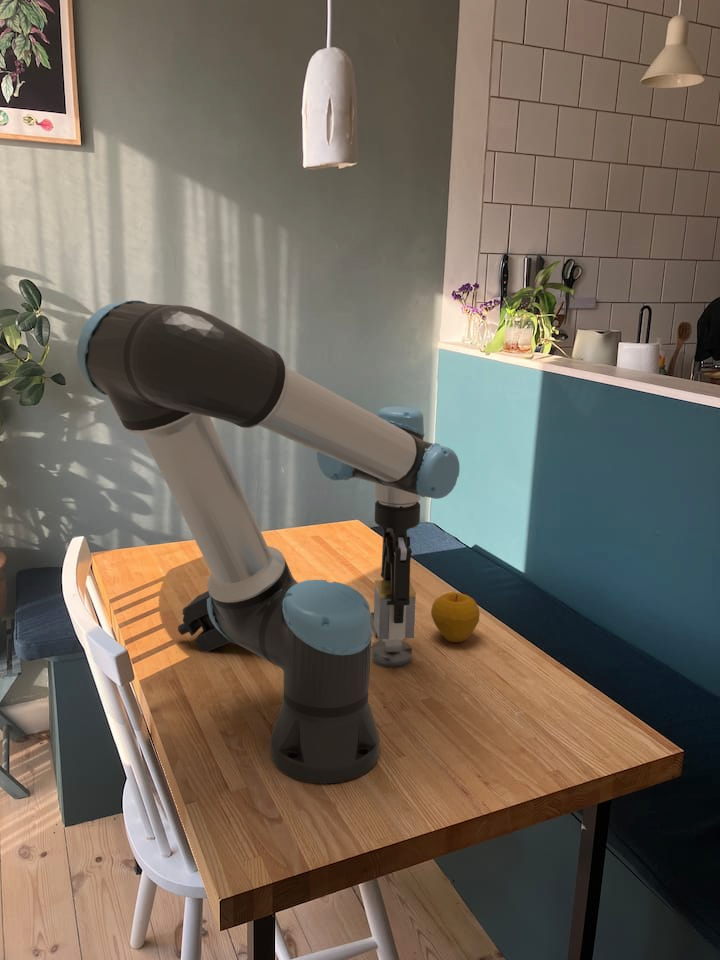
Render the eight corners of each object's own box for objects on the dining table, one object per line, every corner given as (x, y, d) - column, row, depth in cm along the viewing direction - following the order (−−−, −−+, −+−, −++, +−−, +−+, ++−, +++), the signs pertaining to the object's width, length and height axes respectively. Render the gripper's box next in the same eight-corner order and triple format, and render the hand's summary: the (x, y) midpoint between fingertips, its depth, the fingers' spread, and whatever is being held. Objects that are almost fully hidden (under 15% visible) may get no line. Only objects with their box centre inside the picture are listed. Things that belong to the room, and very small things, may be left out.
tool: (295, 648, 136) (252, 572, 135) (203, 687, 142) (161, 614, 140) (304, 633, 142) (264, 560, 140) (216, 671, 148) (176, 601, 146)
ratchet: (415, 667, 137) (416, 629, 135) (374, 668, 136) (375, 630, 134) (395, 621, 155) (397, 587, 153) (359, 622, 154) (361, 588, 152)
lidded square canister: (413, 638, 136) (415, 592, 134) (378, 639, 136) (380, 594, 134) (407, 623, 142) (408, 579, 140) (373, 624, 141) (374, 580, 139)
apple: (420, 633, 150) (422, 588, 148) (459, 625, 154) (462, 581, 152) (446, 654, 142) (449, 606, 140) (488, 644, 146) (491, 598, 144)
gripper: (432, 517, 124) (426, 654, 130) (409, 485, 143) (404, 607, 148) (384, 518, 123) (380, 656, 129) (367, 486, 142) (364, 608, 147)
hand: (393, 629), depth 139 cm, fingers closed on lidded square canister, 6 cm apart
